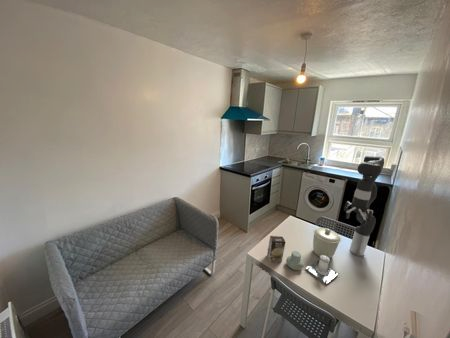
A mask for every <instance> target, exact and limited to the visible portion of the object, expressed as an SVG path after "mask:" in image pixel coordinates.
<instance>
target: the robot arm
mask: <svg viewBox="0 0 450 338" xmlns="http://www.w3.org/2000/svg"><path fill="white" fill-rule="evenodd" d="M384 166H385V158H384V157H383V156H379V155H365V156H364V158H363V161H362V162H360V163H359V165H358V166H357V173H358V174H360V175H361V176H362V178H360V179H359V180H358V182H357V184H356V189H355V190H354V194H353V198H352V202H350V201H349V200H347V201H346V202H345V203H344V206H343V211H344V212H345V218H346V219H347V220H348V219H349V218H350V215H351V212H352V211H353V212H354V213H356V220H357V221H358V222H359V223H360V225H359V226H358V225H357V226H356V227H355V228H354V232H353V237H352V239H351V243H350V247H349V251H350V253H352V254H353V255H355V256H358V257H363V256H364V255H365V252H366V249H367V246H368V244H369V243H368V242H369V239H370V236H371V234H372V233H373V232H374V231H373V230H374V229H375V227H376V226H375V225H376V223H377V220H376V217H375V216H374V215H373V214H374V210H373V209H370V206H371V204H372V203H373V202H374V201H375V199H376V198H377V195H378V194H377V193H378V187H377V184H376V183H375V182H376V181H377V178H379V176H380V174H381V173H382V170H383V168H384ZM349 207H351V208H350V209H349Z"/></svg>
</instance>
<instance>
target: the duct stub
mask: <svg viewBox="0 0 450 338" xmlns="http://www.w3.org/2000/svg"><path fill="white" fill-rule="evenodd" d="M318 261H319V266H318V270H319V271H320V272H322V273H326V271H327V267H328V268H329V263H330V261H331V258H330V259H329V258H328V257H327V256H325V255H321V256H320V257H319V260H318Z"/></svg>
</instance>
